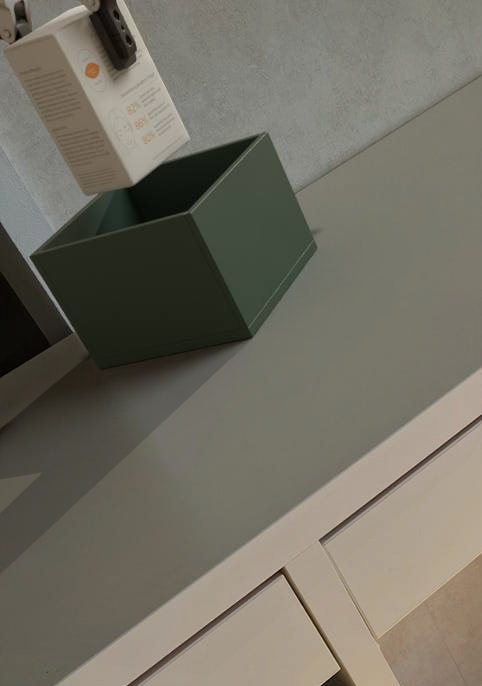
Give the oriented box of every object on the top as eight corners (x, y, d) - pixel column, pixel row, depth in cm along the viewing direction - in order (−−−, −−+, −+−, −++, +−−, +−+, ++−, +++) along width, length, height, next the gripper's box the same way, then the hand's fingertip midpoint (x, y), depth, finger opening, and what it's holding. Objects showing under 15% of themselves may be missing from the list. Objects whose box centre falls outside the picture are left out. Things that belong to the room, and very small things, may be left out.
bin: (98, 369, 87) (28, 256, 80) (175, 282, 96) (118, 175, 90) (252, 337, 81) (190, 212, 74) (318, 247, 91) (267, 130, 84)
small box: (143, 152, 85) (69, 8, 78) (193, 140, 82) (121, -11, 75) (82, 198, 80) (-2, 49, 73) (133, 187, 77) (51, 31, 70)
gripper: (60, -260, 65) (192, 34, 76) (-103, -176, 71) (42, 87, 82) (-4, -241, 60) (147, 70, 71) (-174, -152, 66) (-9, 124, 77)
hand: (90, 78), depth 77 cm, fingers closed on small box, 6 cm apart
